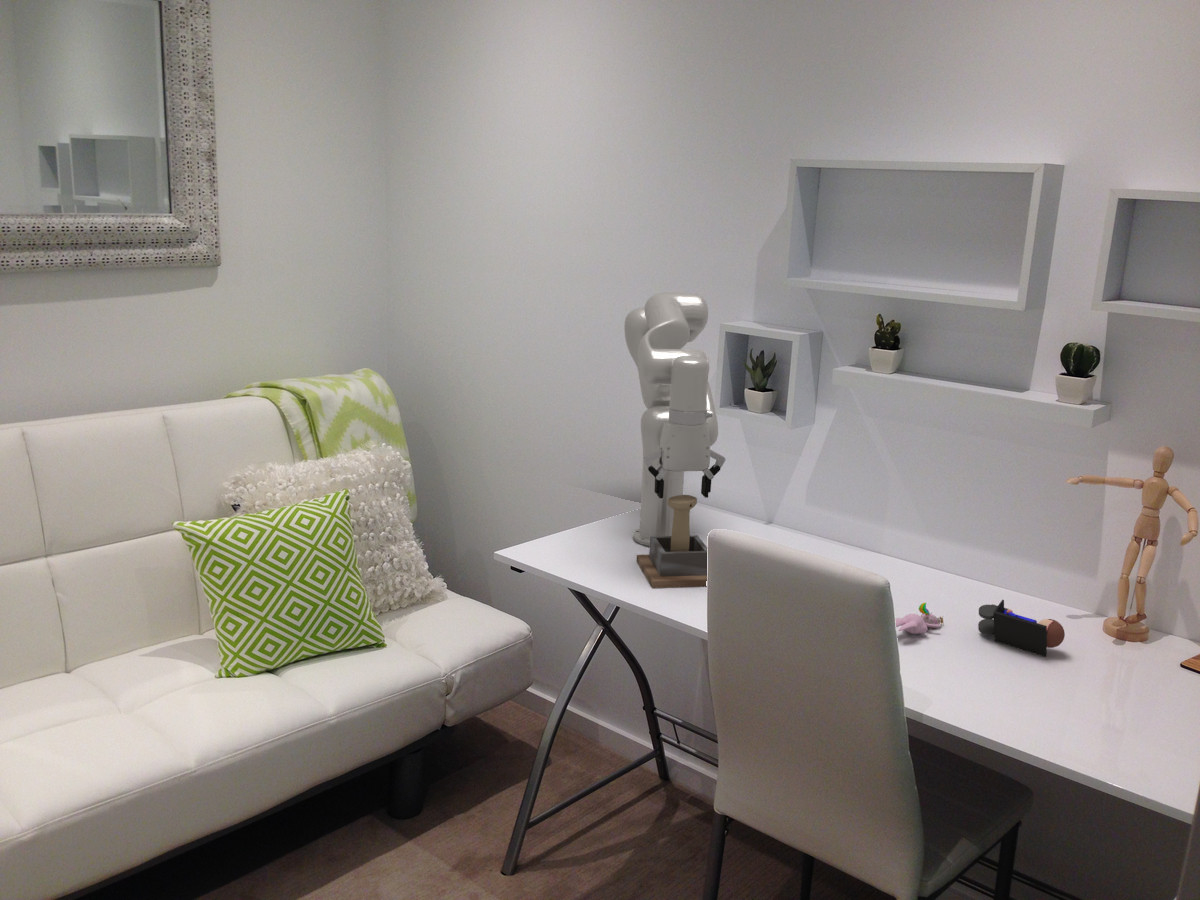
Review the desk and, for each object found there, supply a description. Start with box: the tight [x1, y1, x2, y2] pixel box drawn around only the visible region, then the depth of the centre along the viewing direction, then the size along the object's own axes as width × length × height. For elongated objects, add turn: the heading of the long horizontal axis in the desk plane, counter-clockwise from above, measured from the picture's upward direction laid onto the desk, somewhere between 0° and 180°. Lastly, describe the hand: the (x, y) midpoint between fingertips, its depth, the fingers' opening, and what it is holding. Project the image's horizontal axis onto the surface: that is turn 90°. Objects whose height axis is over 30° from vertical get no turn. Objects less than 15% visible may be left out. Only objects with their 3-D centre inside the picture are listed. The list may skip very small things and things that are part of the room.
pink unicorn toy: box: [895, 602, 944, 635], centre depth 194 cm, size 6×6×15 cm
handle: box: [668, 494, 698, 552], centre depth 219 cm, size 5×6×15 cm
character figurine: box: [977, 599, 1066, 658], centre depth 190 cm, size 8×7×15 cm
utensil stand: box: [635, 535, 708, 589], centre depth 220 cm, size 16×15×6 cm
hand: (682, 496), depth 217 cm, fingers open, 9 cm apart
